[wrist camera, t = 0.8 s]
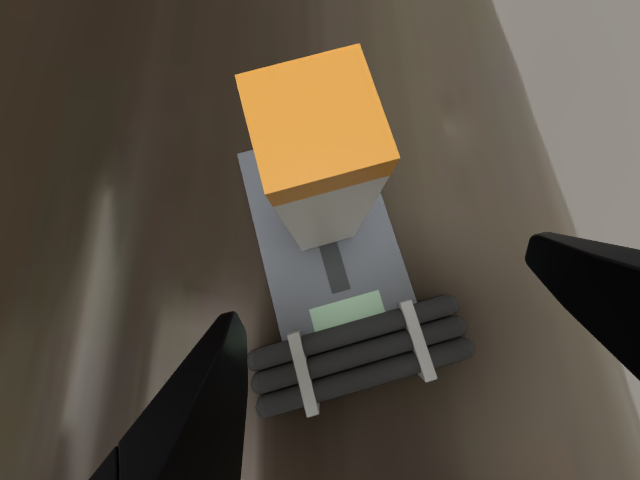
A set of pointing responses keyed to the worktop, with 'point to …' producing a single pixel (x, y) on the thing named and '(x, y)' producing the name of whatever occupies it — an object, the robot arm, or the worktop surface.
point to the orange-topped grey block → (319, 142)
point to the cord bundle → (358, 355)
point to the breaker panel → (326, 266)
